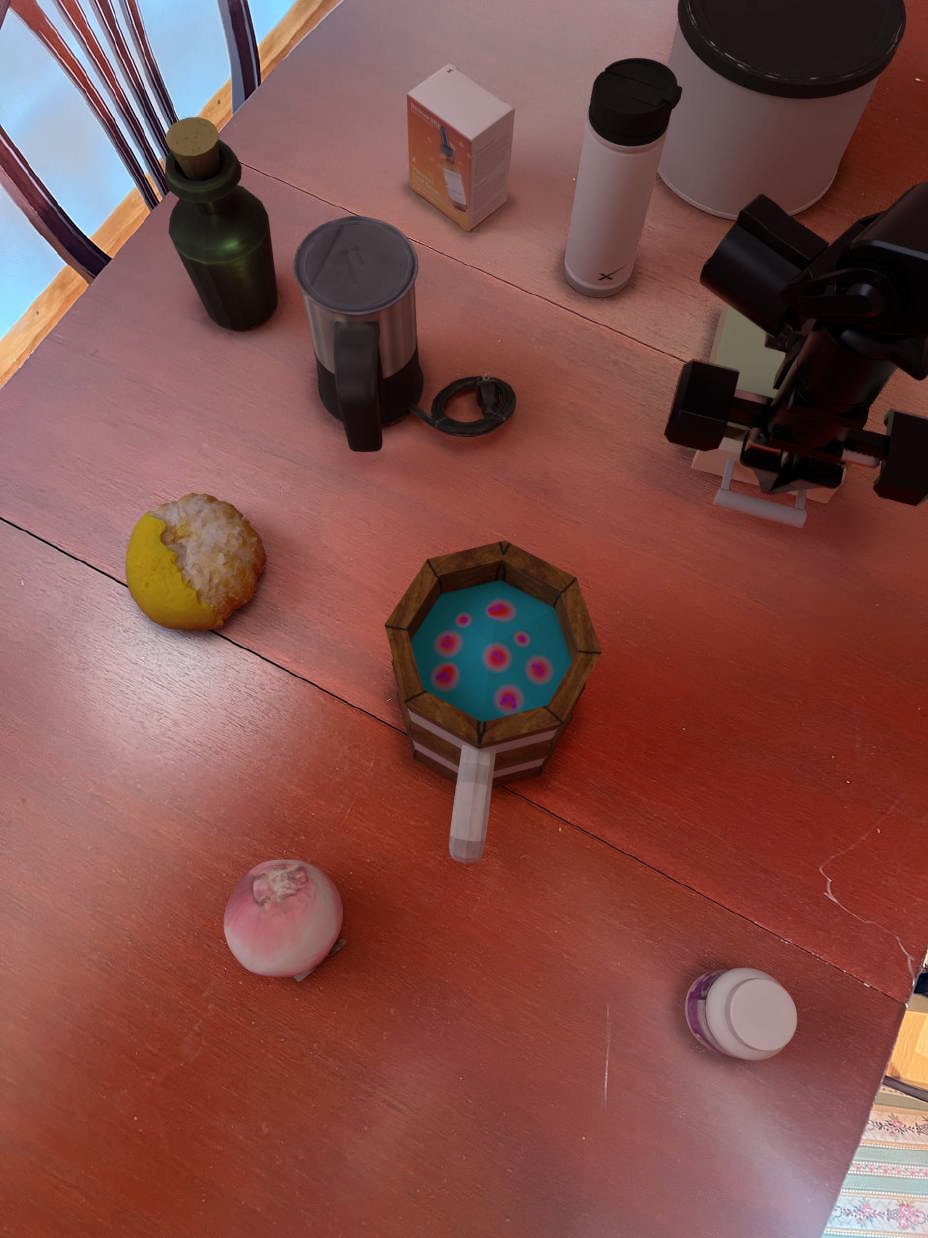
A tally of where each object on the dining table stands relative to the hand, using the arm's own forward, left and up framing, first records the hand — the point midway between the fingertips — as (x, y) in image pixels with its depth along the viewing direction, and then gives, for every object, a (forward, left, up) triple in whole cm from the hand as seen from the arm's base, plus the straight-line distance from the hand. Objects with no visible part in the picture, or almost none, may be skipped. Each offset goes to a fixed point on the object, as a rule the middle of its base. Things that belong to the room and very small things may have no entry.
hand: (766, 488), depth 75 cm
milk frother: (+30, -3, -4) cm, 31 cm away
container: (+8, -40, -4) cm, 41 cm away
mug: (+16, +25, -4) cm, 30 cm away
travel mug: (+18, -21, -4) cm, 28 cm away
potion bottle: (+48, -8, -4) cm, 49 cm away
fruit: (+41, +18, -4) cm, 45 cm away
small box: (+33, -26, -4) cm, 42 cm away
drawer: (0, -7, -3) cm, 7 cm away
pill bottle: (-5, +38, -4) cm, 39 cm away
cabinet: (0, -12, -4) cm, 12 cm away
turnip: (+25, +41, -4) cm, 49 cm away
